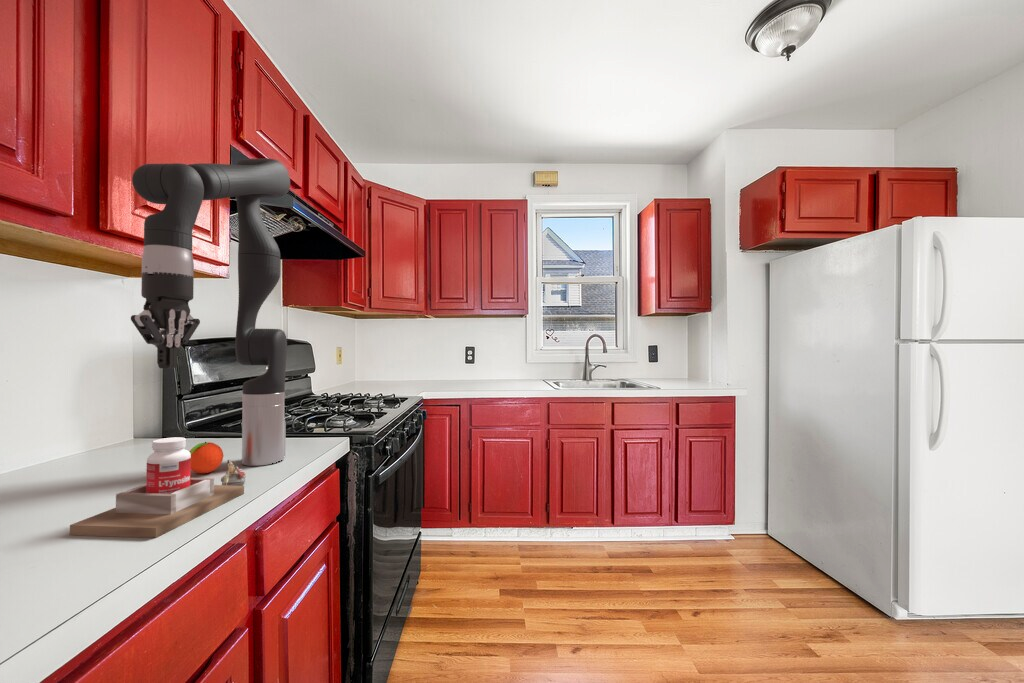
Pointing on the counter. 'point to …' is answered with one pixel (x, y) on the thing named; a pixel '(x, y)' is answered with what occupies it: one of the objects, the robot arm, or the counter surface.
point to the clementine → (206, 457)
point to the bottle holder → (156, 510)
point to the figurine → (233, 476)
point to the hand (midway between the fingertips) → (167, 368)
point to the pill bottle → (168, 466)
